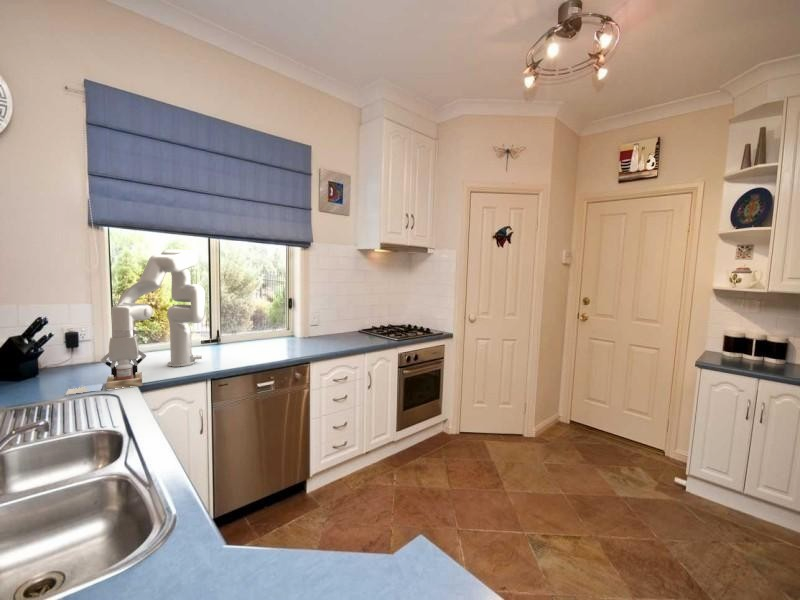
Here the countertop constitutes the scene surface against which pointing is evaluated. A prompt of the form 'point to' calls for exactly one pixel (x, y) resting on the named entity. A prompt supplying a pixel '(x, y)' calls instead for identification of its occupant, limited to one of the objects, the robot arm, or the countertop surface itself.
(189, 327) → the robot arm
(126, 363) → the pill bottle
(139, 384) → the holder block
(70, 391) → the cream pad
